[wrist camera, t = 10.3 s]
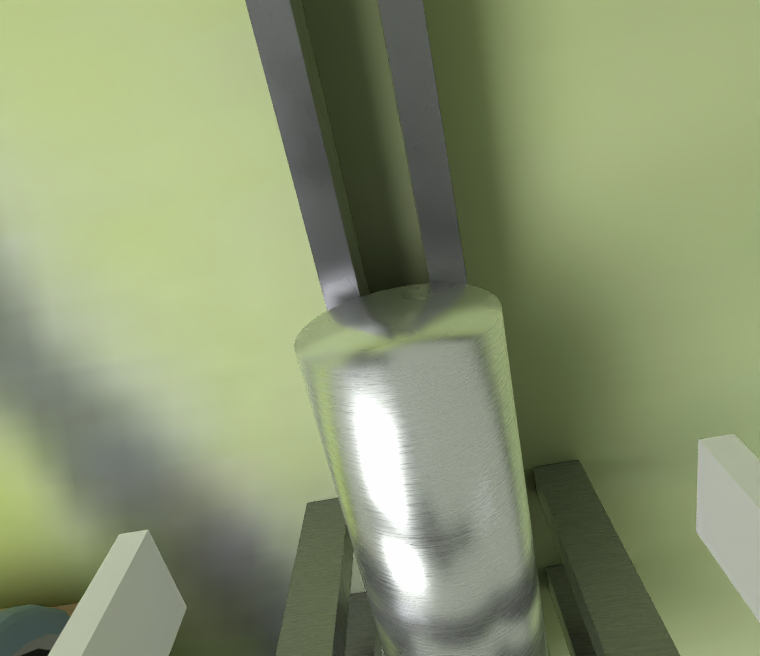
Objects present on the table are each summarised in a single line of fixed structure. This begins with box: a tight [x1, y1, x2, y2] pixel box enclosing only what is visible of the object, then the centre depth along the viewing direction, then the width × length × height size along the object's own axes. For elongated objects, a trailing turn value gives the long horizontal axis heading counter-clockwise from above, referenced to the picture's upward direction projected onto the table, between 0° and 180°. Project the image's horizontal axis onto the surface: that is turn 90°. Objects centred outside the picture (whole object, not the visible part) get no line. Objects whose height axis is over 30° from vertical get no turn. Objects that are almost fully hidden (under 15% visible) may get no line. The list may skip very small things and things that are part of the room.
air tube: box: [294, 283, 549, 656], centre depth 20 cm, size 22×6×6 cm, turn 12°
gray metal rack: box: [245, 0, 680, 656], centre depth 17 cm, size 39×12×13 cm, turn 12°
